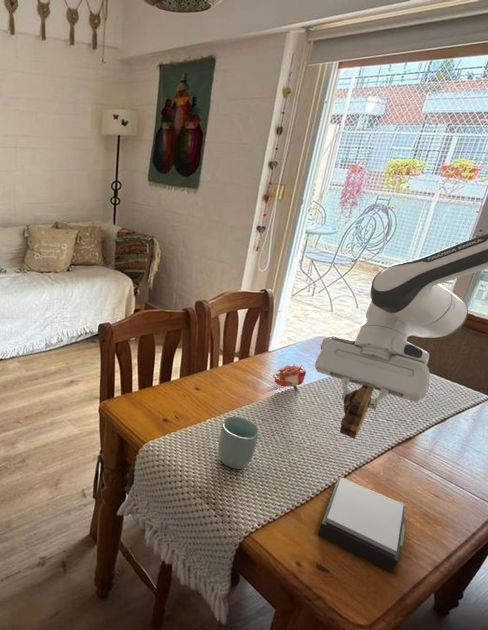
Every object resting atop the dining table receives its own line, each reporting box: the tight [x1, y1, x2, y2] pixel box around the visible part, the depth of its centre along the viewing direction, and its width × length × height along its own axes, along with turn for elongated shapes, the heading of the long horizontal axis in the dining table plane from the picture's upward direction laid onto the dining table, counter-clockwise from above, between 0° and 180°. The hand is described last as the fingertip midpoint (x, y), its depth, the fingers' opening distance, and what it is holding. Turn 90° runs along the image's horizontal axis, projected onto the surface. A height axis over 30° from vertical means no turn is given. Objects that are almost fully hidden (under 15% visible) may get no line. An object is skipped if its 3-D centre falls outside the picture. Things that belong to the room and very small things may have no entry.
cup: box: [217, 416, 260, 470], centre depth 101 cm, size 8×8×10 cm
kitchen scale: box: [317, 477, 406, 573], centre depth 86 cm, size 12×16×4 cm
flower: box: [272, 363, 307, 392], centre depth 132 cm, size 10×9×8 cm
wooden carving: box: [339, 385, 374, 440], centre depth 91 cm, size 16×5×10 cm, turn 143°
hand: (358, 403), depth 93 cm, fingers closed on wooden carving, 3 cm apart
